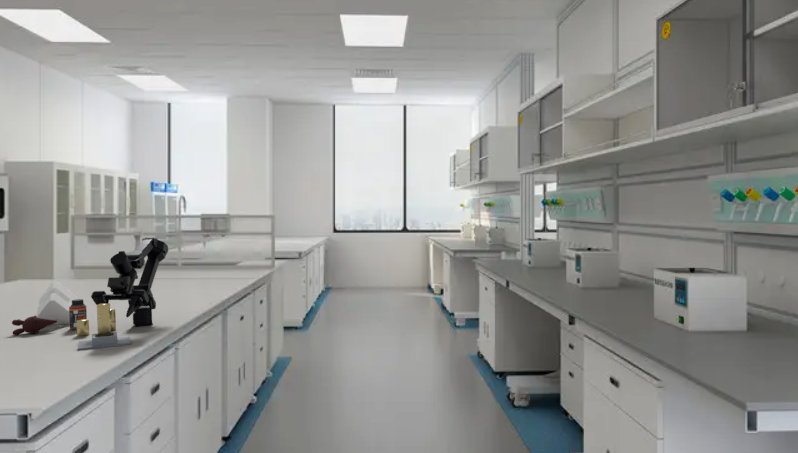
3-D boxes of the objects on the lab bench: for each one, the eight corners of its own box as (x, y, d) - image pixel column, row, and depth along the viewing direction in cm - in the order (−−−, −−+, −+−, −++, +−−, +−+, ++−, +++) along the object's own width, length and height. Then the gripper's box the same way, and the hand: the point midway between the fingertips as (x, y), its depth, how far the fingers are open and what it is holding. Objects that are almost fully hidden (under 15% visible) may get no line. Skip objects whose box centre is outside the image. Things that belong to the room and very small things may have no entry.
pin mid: (115, 328, 226) (115, 308, 226) (116, 330, 222) (115, 309, 222) (104, 329, 224) (103, 309, 224) (104, 331, 220) (103, 310, 220)
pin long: (107, 340, 203) (106, 303, 202) (113, 341, 200) (112, 303, 200) (96, 342, 200) (94, 304, 199) (101, 343, 197) (100, 305, 197)
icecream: (58, 313, 227) (14, 319, 222) (53, 311, 220) (8, 317, 216) (60, 330, 226) (15, 337, 221) (55, 329, 219) (9, 336, 214)
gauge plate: (129, 337, 209) (129, 329, 209) (131, 344, 198) (130, 335, 198) (78, 343, 202) (78, 334, 202) (77, 350, 191) (77, 341, 191)
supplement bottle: (79, 330, 224) (78, 301, 224) (66, 329, 226) (64, 300, 225) (90, 327, 230) (89, 298, 230) (77, 326, 231) (76, 298, 231)
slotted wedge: (39, 333, 238) (31, 301, 227) (42, 313, 246) (35, 282, 235) (77, 329, 243) (71, 299, 232) (79, 310, 251) (74, 280, 240)
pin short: (89, 333, 218) (88, 318, 218) (89, 335, 215) (88, 320, 214) (77, 334, 216) (76, 319, 216) (76, 336, 213) (76, 321, 213)
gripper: (92, 269, 211) (78, 304, 201) (144, 267, 212) (133, 303, 202) (103, 287, 220) (90, 322, 209) (153, 286, 220) (143, 321, 210)
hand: (113, 317), depth 207 cm, fingers open, 9 cm apart
